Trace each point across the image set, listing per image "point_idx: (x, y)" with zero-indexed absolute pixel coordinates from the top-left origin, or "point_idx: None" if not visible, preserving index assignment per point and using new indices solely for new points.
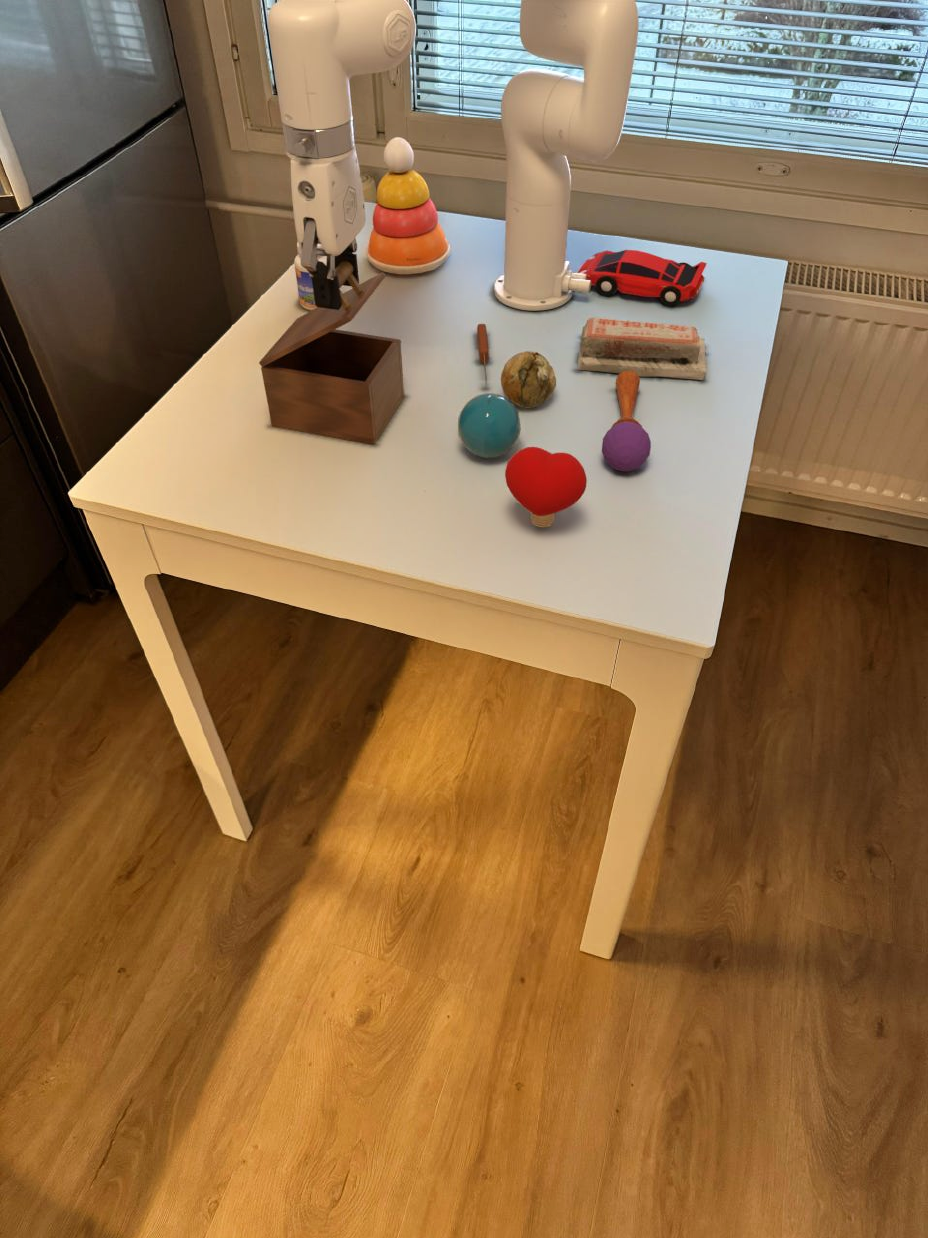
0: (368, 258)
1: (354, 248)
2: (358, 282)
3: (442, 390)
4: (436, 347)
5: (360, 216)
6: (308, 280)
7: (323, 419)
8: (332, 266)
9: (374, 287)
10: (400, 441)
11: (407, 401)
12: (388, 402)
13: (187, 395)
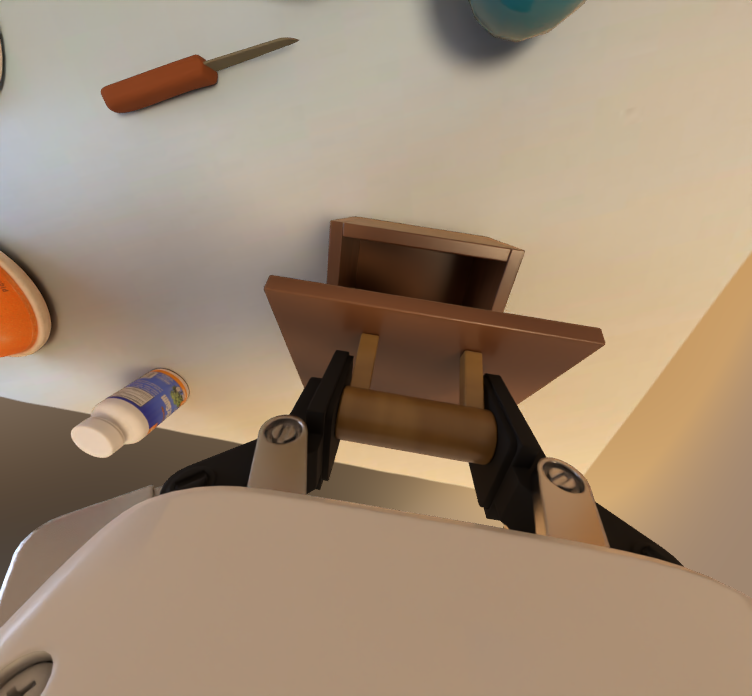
0: (39, 348)
1: (291, 430)
2: (340, 353)
3: (321, 148)
4: (200, 191)
5: (208, 629)
6: (157, 413)
7: None
8: (571, 506)
9: (366, 296)
10: (477, 194)
11: (365, 208)
12: (421, 228)
13: (393, 464)
